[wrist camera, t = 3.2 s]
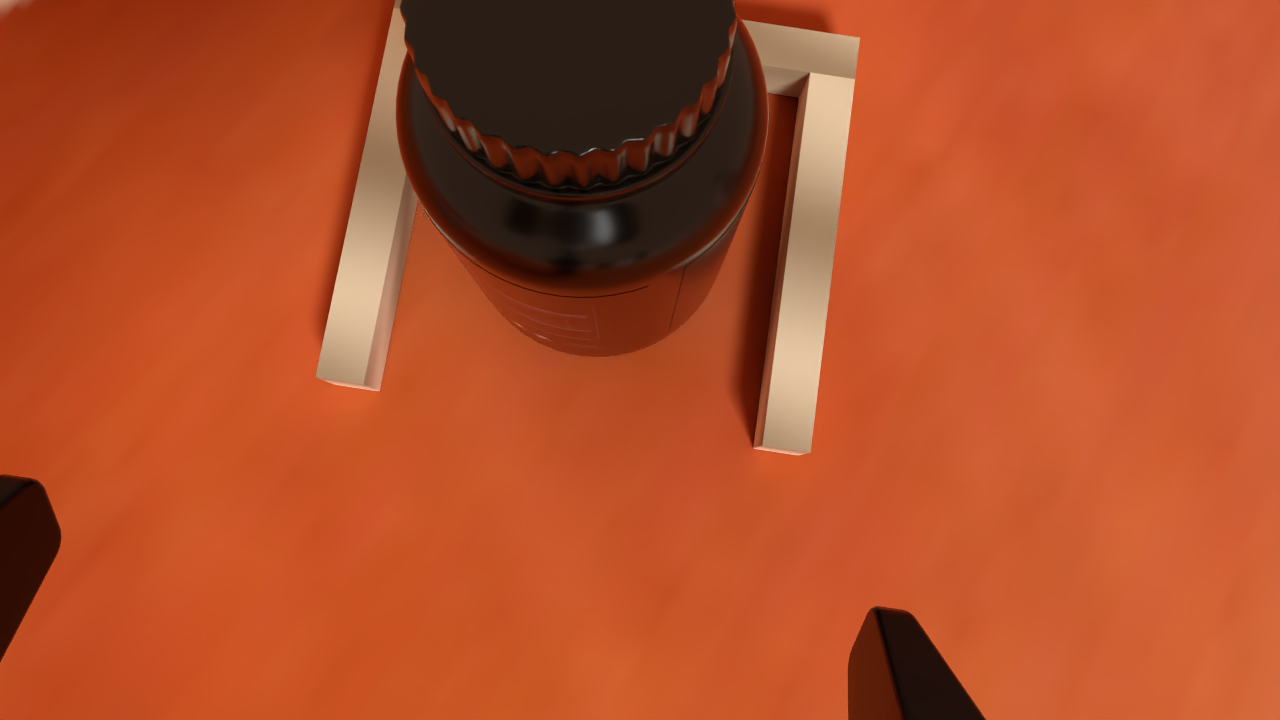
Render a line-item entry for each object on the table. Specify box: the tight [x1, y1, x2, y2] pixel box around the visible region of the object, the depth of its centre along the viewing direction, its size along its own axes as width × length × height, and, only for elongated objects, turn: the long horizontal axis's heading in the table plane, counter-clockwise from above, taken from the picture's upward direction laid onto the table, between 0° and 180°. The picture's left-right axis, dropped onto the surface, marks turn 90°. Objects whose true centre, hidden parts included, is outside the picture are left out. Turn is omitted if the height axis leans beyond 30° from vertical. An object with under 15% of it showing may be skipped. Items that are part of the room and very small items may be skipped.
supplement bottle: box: [396, 0, 769, 357], centre depth 18 cm, size 7×7×12 cm
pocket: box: [316, 0, 860, 455], centre depth 23 cm, size 11×12×2 cm
